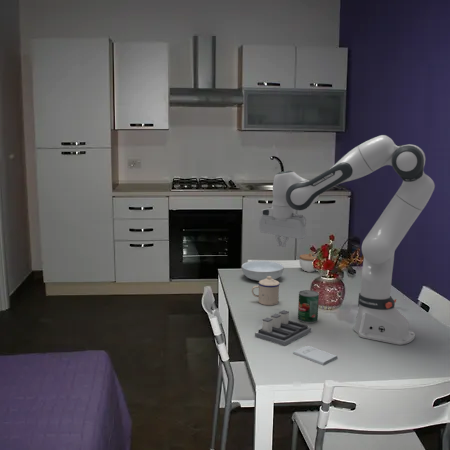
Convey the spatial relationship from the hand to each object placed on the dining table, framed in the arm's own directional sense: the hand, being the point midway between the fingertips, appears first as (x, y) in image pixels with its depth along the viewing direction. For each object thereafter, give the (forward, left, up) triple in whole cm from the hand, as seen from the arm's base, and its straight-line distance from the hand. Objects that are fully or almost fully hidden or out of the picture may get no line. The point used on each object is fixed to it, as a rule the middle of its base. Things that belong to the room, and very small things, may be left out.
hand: (281, 246), depth 225 cm
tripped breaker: (-9, +21, -27) cm, 35 cm away
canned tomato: (-11, -5, -29) cm, 31 cm away
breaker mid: (-9, +15, -27) cm, 32 cm away
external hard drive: (-31, +25, -30) cm, 50 cm away
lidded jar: (+27, -70, -29) cm, 80 cm away
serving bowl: (+36, -40, -29) cm, 61 cm away
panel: (-12, +15, -29) cm, 35 cm away
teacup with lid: (+14, -11, -29) cm, 34 cm away
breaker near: (-9, +10, -27) cm, 30 cm away
